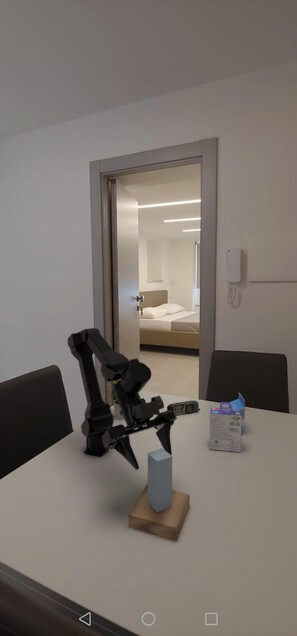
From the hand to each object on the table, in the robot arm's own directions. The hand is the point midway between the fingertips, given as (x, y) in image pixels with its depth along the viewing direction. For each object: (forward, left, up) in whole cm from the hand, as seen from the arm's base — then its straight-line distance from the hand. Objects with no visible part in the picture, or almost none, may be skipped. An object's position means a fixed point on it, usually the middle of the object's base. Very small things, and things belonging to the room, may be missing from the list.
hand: (154, 462), depth 74 cm
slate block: (+2, -1, -9) cm, 9 cm away
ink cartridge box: (+12, +35, -12) cm, 39 cm away
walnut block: (+2, -1, -13) cm, 13 cm away
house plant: (-28, +45, -12) cm, 54 cm away
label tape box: (+14, +49, -12) cm, 52 cm away
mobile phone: (-7, +55, -13) cm, 57 cm away
